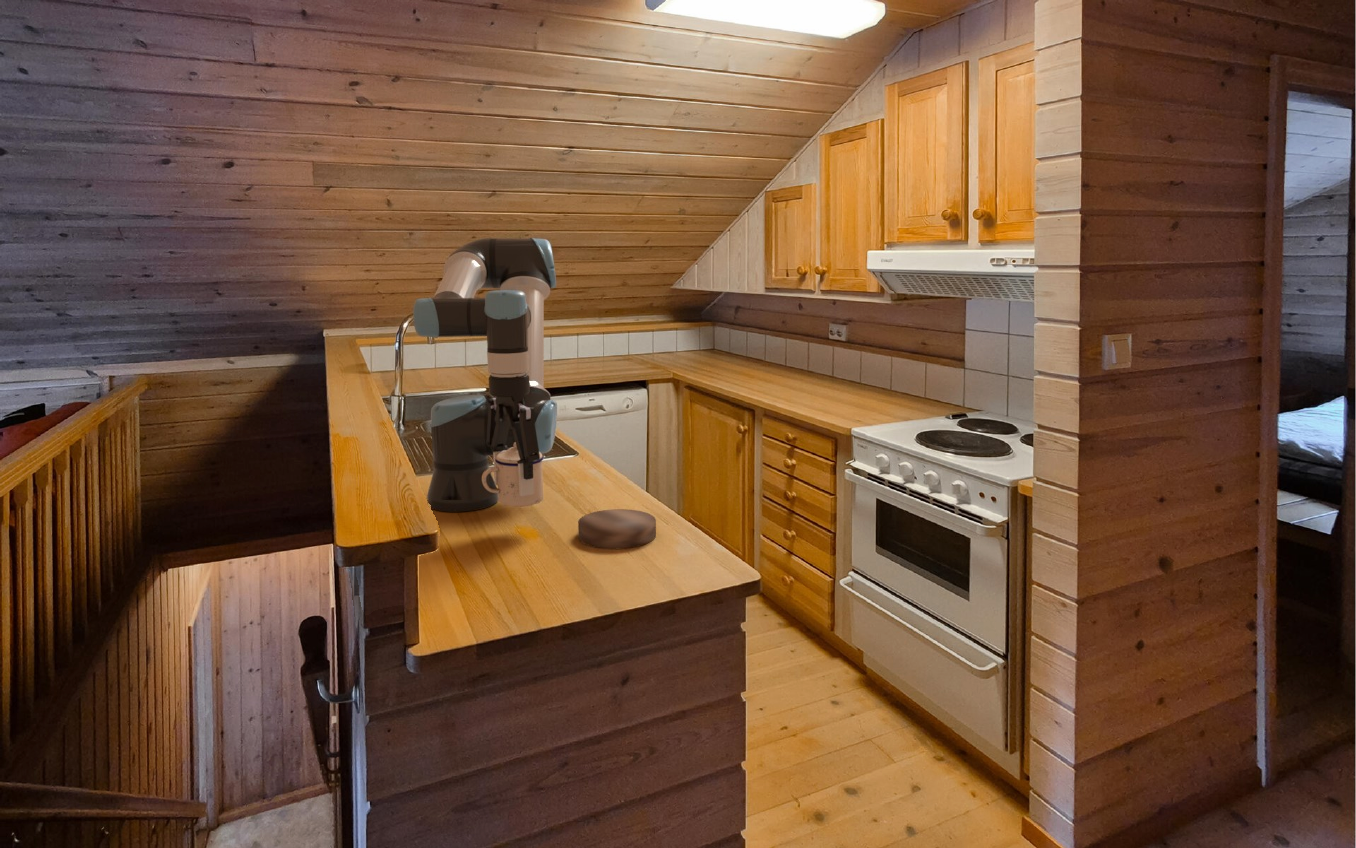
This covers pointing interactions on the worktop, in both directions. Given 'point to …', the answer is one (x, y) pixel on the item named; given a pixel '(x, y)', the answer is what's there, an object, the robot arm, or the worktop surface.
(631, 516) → the walnut stand
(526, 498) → the teacup with lid
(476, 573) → the worktop surface
